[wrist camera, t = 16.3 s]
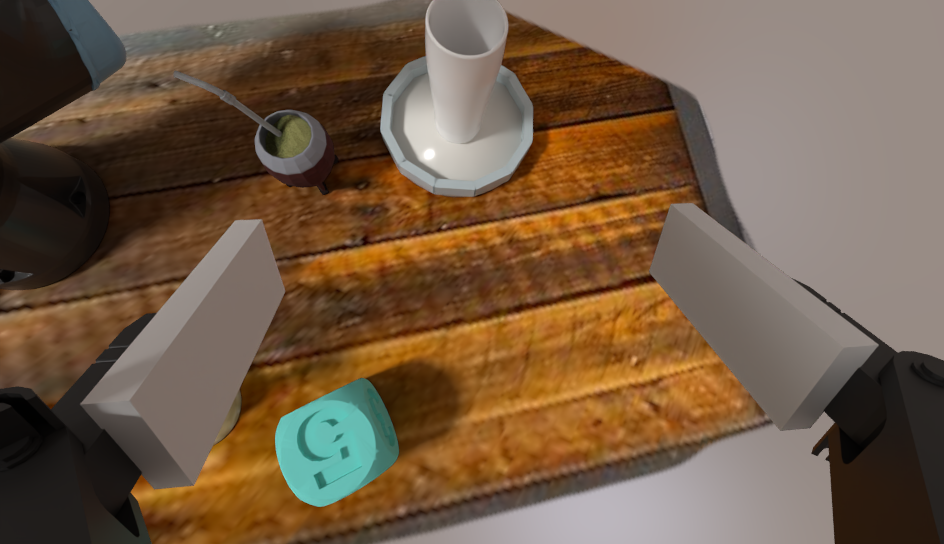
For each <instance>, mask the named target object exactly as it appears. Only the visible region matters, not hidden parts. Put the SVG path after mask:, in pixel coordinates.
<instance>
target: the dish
mask: <svg viewBox="0 0 944 544" xmlns="http://www.w3.org/2000/svg"><path fill="white" fill-rule="evenodd" d="M513 73H514V72H512V71H510V70H509V69H507V68H505V67H504V66H502V65H501V67H500V71H499V74H498V77H497V80H496V83H495V85H494V88H493V91H492V93H491V96H490V99H489V102H488V105H487V107H486V110H485V113H484V116H483V119H482V123H481V127H480V130H479V132H478V134H477V135H476V136H475V137H474V138H473V139H472V140H470V141H469V142H466V143H462V144H456V143H451V142H449V141H447V140H445V139H444V138H442V137H441V136H440V134H439V133H438V131H437V129H436V127H435V122H434V108H433V102H432V95H431V89H430V83H429V76H428V70H427V63H426V56H424V57H422V58H419V59H417V60H414V61H412V62H409V63H407V64H406V65H405V66H404V67H403V69H402V70H401V71H400V72H399V74H398V75H397V76H396V78H395V79H394V80H393V81H392V83H391V84H390V85H389V87H388V88H387V89H386V90H385V92H384V94H383V104H382V115H381V126H380V131H381V134H382V138H383V141H384V143H385V145H386V147H387V148H388V150H389V152H390V155H391V157H392V159H393V161H394V162H395V164H396V166H397V168H398V170H399V171H400V172H401V174H403V175H404V176H406V177H407V178H408V179H409V180H411V181H412V182H414V183H415V184H416V185H418V186H420V187H421V188H423V189H425V190H427V191H430V192H431V193H433V194H434V193H435V194H439V195H443V196H449V197H474V196H477V195H479V194H483V193H485V192H488V191H490V190H492V189H494V188H496V187H498V186H500V185H501V184H502V183H505V182H507V181H508V180H510V178H511V177H512V175H513V173H514V172H515V171H516V169H517V168H518V167H519V165H520V163H521V161H522V160H523V158H524V157H525V155H526V154H527V152H528V151H529V149H530V146H531V144H532V141H533V106H532V105H533V104H532V102H531V101H530V99H529V97H528V96H527V94H526V92H525V90H524V89H523V87H522V85H521V84H520V82H519V80H518V78H517V77H516V75H515V73H514V74H513Z"/></svg>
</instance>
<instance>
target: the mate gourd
mask: <svg viewBox="0 0 944 544" xmlns="http://www.w3.org/2000/svg"><path fill="white" fill-rule="evenodd" d="M174 77H176V78H178V79H181V80H184V81H186V82H189V83H191V84H194V85H196V86H199V87H201V88H203V89H206V90H208V91H210V92H212V93H214V94H216V95H218V96H220V99H222V100H223V101H225V102H227V103H228V104H230V105H233V106H235V107H236V108H238V109H239V110H240V111H242V112H243V113H245V114H246V115H248V116H249V117H250V118H252V119H253V120H255V121H256V122H257V123H259V124H260V125H259V128H258V131H257V133H256V136H255V148H256V153H257V155H258V157H259V159H260V161H261V162H262V164H263V166H264V167H265V169H266V170H267V172H268V173H269V174H271V175H272V176H274V177H275V178H276V179H278V180H279V181H281V182H282V183H284V184H286V185H287V186H289V187H292V186H296V187H312V186H317V187H318V188H319V190H320V192H321V193H322V194H323V195H325V194H327V193H329V191H328V189H327V187H326V185H325V184H324V182H323V181H324V180H325V179H326V177H327V176H328V175H329V174H330V172H331V169H332V166H333V165H334V164H336V163H337V162H338V158H337V156H336V155H334V145H333V142H332V139H331V138H330V136H329V135H328V133H327V131H326V130H325V128H324V127H323V126H322V124H320V123H319V122H318V121H317V120H316V119H314V118H313V117H312V116H310V115H309V114H307V113H304V112H300V111H296V110H283V111H277V112H275V113H273V114H271V115H269V116H267V117H266V118H265V119H264V120H263V119H262V118H261V117H259V116H258V115H257V114H255V113H254V112H253V111H251V110H250V109H248V108H247V107H246V106H244V105H243V104H242V103H240V102H239V101H238V100H236V97H235V96H233V95H232V94H230V93H229V92H227V91H226V90H221V89H219V88H217V87H215V86H213V85H211V84H209V83H206V82H204V81H201V80H198V79H196V78H193V77H191V76H188V75H186V74H183V73H181V72H178V71H174Z"/></svg>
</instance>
